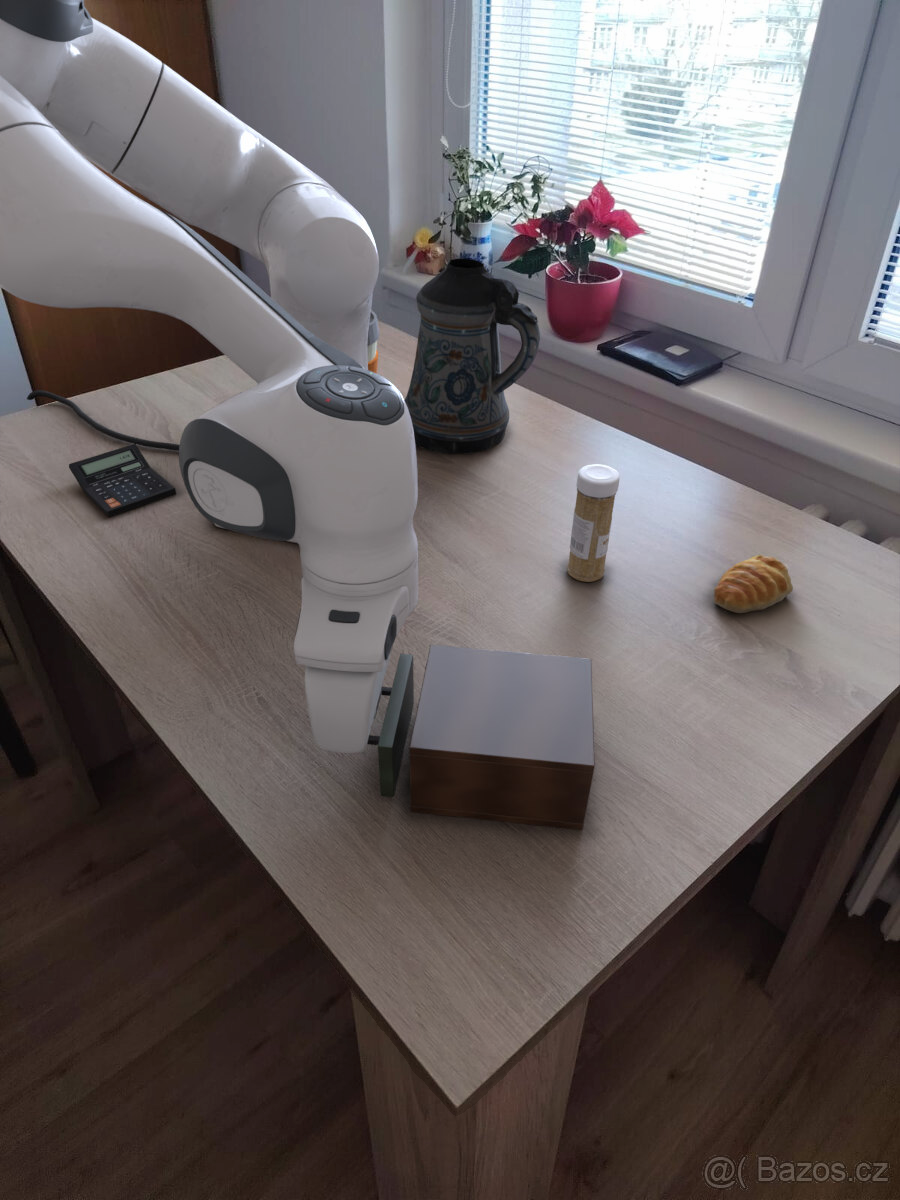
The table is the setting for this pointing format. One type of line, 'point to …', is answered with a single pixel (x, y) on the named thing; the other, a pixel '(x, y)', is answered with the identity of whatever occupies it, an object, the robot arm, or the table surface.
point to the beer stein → (466, 358)
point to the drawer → (395, 725)
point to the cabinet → (503, 737)
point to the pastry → (753, 585)
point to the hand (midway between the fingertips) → (368, 707)
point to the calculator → (120, 480)
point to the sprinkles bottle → (592, 521)
